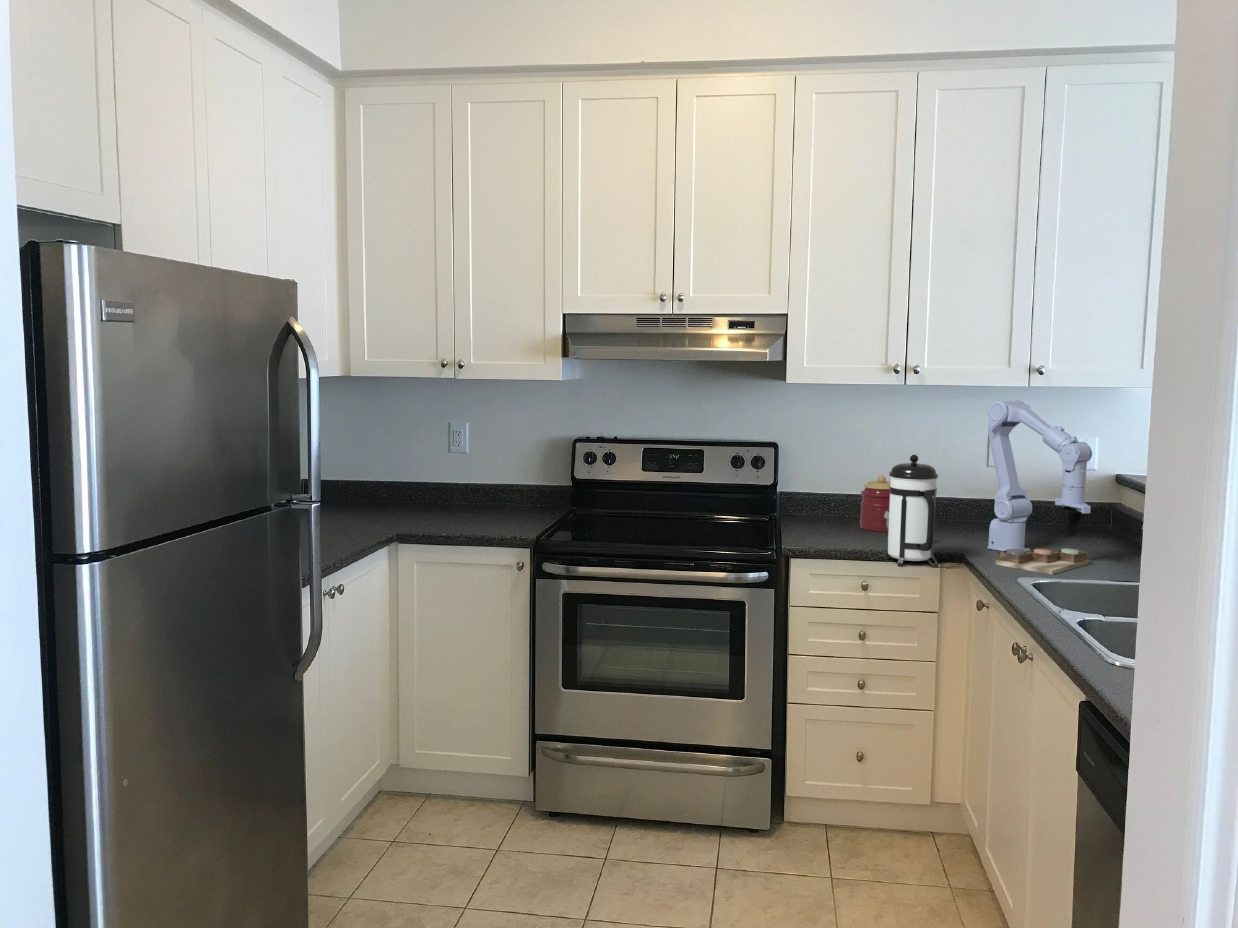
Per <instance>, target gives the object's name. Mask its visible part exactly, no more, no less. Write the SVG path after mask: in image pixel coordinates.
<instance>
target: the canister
mask: <svg viewBox="0 0 1238 928" xmlns="http://www.w3.org/2000/svg"><path fill="white" fill-rule="evenodd" d="M877 477H878V478H877V480H870V481H868V482H867V483H865V484H864V485H863V487H864V490H862V491H861V492H860V494H861V495H862V497H861V501H860V519H859V524H860V525H859V526H860V528H861V529H862V530H865V531H873V532H882V533H883V532H887V522H886V518H884V514H885V512H886V511H888V512H889V504H890V493H889V486H890V481H888V480H887V479H886V476H884V475H879V476H877Z"/></svg>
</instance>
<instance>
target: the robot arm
mask: <svg viewBox="0 0 1238 928" xmlns="http://www.w3.org/2000/svg"><path fill="white" fill-rule="evenodd" d="M986 413H987V418H988V427H987V434H988V439H989V443H990V449H991V453H992V458H993V463H994V468H995V473H996V478H997V483H998V487H999V490H998V491H997V493H995V495H994V496H993V499H994V507H993V508H994V509H993V510H994V514H995V516H996V517H997V518H993V519H992V520H991V522H990V524H989V527H988V529H989V530H988V546H986V547H987V548H986V549H988V550H993V551H998V552H1000V551H1004V550H1007V549H1019V550H1023V551H1024V552H1026V551H1030V550H1031V548H1029V547H1025V540H1026V536H1025V535H1026V523H1027V522H1026V521H1028V517H1029V516H1031V514H1032V512H1033V503H1032V502H1031V500H1030V499H1029V497H1028V493H1027V491H1026V490H1024V489H1023V488H1022V487H1021V486H1020V482H1019V477H1018V472H1017V468H1016V463H1015V459H1014V454H1013V449H1012V445H1011V439H1010V434H1011V432H1012V431H1013V429H1015V427H1017V426H1018V425H1020V423H1022V424H1024V425H1025V426H1027V427H1028V428H1030V429H1031V430H1033V431H1035V432H1036V433H1037V434H1039V435H1041V437H1042V442H1043V443H1044V444H1045V445H1047V446H1048V447H1049V448H1051V449H1052V450H1053V451H1055V452H1056V453H1057V454H1058V455H1059V459H1060V460H1061V463H1062V464H1061V467H1062V485H1061V487H1062V488H1061V497H1055V500H1054V501H1055V502H1054V505H1055V506H1060V507H1063V508H1058V513H1059V515H1060V517H1061V520H1062V523H1063V527H1064V533H1065V535H1066V536H1076V534H1077V532H1078V529H1079V526H1080V523H1081V521H1082V520H1083V518H1084V517H1085V515H1086V514H1091V507H1092V506H1090V505H1089V504H1087V503H1086V502H1085V495H1086V479H1087V465H1088V462H1089V461H1090V460H1091V459H1092V456H1093V450H1092V448H1091V446H1090V445H1089V444H1088V442H1085V441H1079V440H1078V439H1077V438H1076V437H1074V436H1071V435H1070V434H1068V433H1067V432H1066V431H1065V428H1064V427H1062V426H1057V425H1056V426H1055V425H1054V426H1051V425H1050V424H1048V423H1047V422H1046V421H1045V420H1044V419H1043V418H1041V417H1040V416H1039V415H1038V414H1037V413H1036V412H1034V410H1032V409H1031V406H1030V405H1029V404H1026V403H1025V402H1024V401H1023V400H1020V399H1019V400H1005V401H1003V400H996V401H994V402H993V403H991V405H990V406H989V408H988V410H987V411H986Z"/></svg>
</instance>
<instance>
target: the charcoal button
mask: <svg viewBox="0 0 1238 928" xmlns="http://www.w3.org/2000/svg"><path fill="white" fill-rule="evenodd" d="M1007 553H1010V554H1015V555H1022V554H1024V551H1023V550H1019V549H1007Z"/></svg>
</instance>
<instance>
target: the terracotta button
mask: <svg viewBox="0 0 1238 928" xmlns="http://www.w3.org/2000/svg"><path fill="white" fill-rule="evenodd" d="M1033 550H1034V553H1039V554H1045V555H1049V554H1051V552H1052V551H1053V550H1051V549H1047V548H1034V549H1033Z"/></svg>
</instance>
